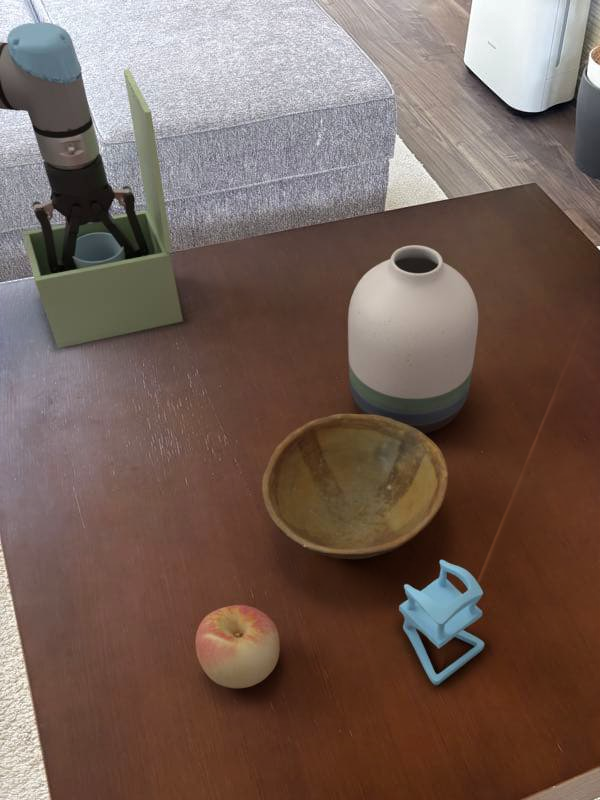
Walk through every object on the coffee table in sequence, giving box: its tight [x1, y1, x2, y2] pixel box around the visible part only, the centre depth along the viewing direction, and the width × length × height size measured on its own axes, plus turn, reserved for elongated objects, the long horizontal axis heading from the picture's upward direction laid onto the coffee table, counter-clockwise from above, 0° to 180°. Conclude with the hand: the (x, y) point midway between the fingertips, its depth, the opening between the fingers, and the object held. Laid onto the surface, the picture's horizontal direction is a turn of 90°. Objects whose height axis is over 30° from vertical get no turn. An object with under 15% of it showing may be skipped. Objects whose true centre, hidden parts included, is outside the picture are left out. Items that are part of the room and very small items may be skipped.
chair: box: [398, 559, 485, 686], centre depth 94 cm, size 8×8×12 cm
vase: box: [347, 244, 479, 435], centre depth 114 cm, size 17×17×24 cm
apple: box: [195, 604, 281, 689], centre depth 93 cm, size 9×9×8 cm
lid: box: [123, 68, 173, 253], centre depth 120 cm, size 20×13×1 cm
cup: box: [72, 233, 125, 269], centre depth 130 cm, size 8×8×10 cm
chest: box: [21, 209, 184, 349], centre depth 130 cm, size 19×13×12 cm
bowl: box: [261, 413, 449, 560], centre depth 105 cm, size 22×23×10 cm
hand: (110, 300), depth 133 cm, fingers closed on cup, 7 cm apart
